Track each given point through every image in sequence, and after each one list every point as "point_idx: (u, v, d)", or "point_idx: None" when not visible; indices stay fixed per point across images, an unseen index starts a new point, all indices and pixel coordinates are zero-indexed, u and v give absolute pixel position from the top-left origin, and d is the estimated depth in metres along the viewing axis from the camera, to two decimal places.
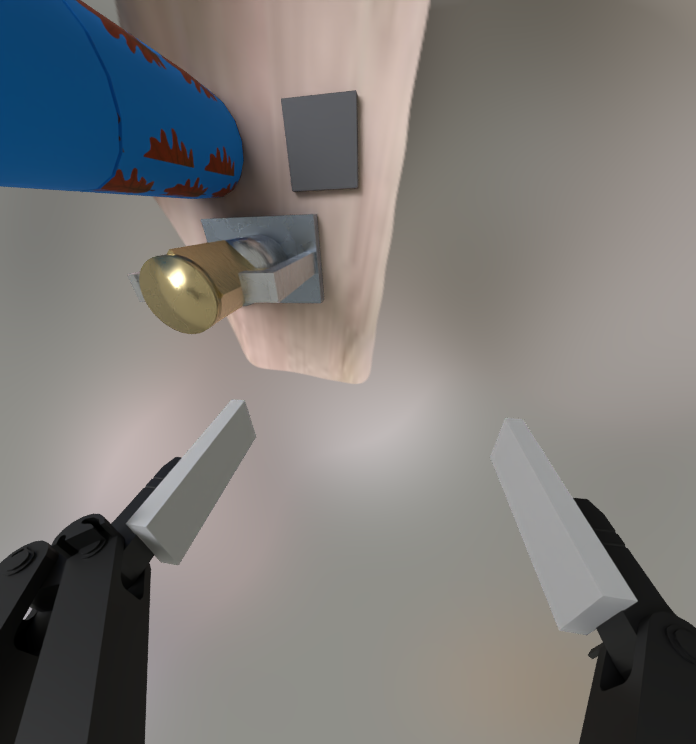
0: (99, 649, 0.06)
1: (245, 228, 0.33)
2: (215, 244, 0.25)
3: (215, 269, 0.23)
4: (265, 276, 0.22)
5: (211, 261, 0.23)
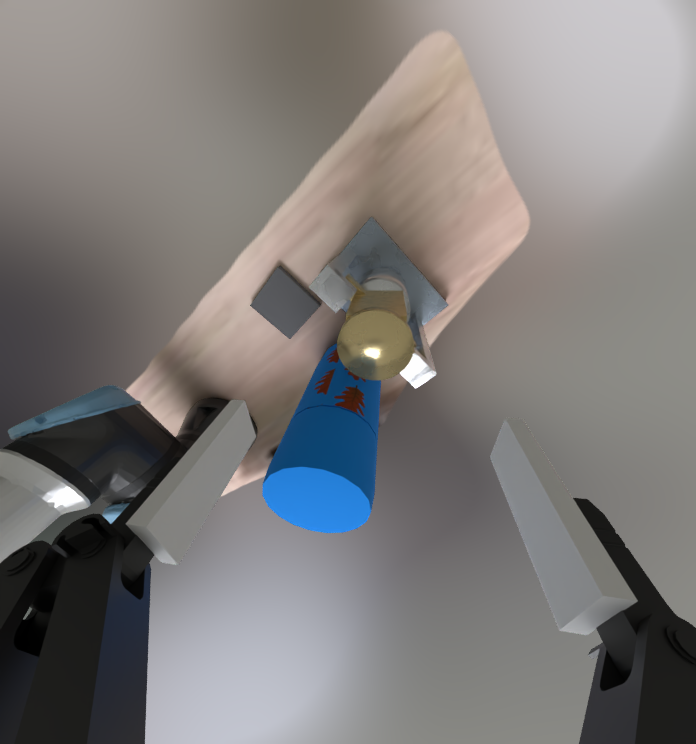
0: (99, 649, 0.06)
1: None
2: None
3: None
4: (317, 291, 0.23)
5: None
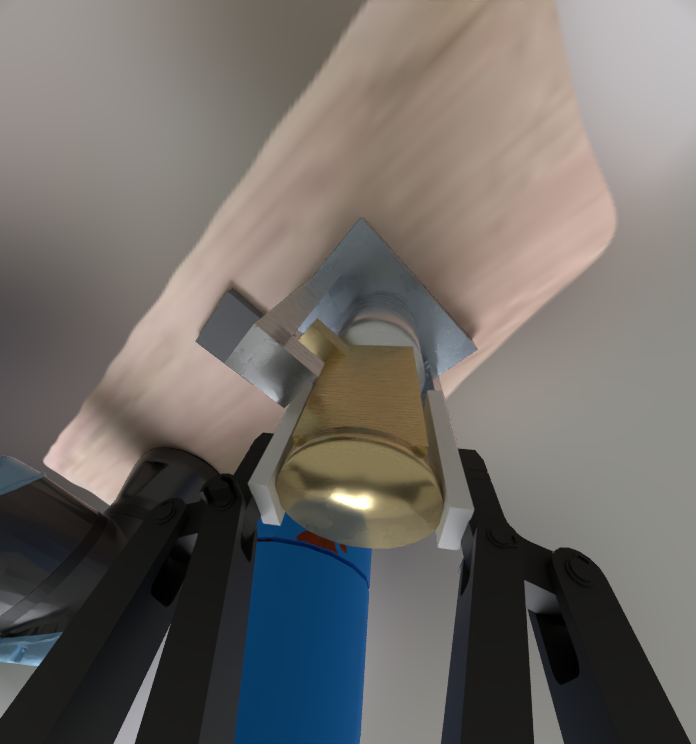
0: (222, 604, 0.07)
1: None
2: None
3: None
4: (242, 370, 0.11)
5: None
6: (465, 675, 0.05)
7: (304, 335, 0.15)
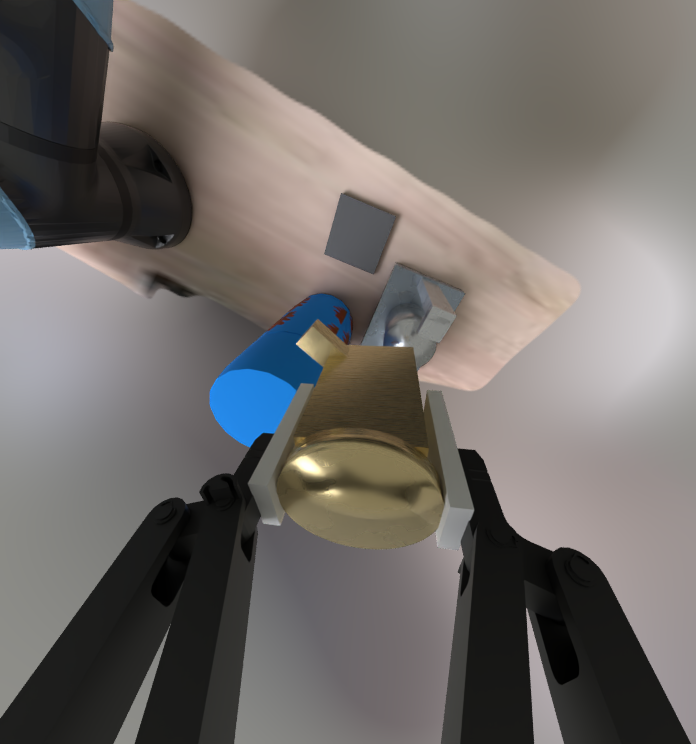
0: (222, 605, 0.07)
1: (378, 324, 0.42)
2: None
3: None
4: (431, 314, 0.26)
5: None
6: (465, 675, 0.05)
7: (304, 336, 0.15)
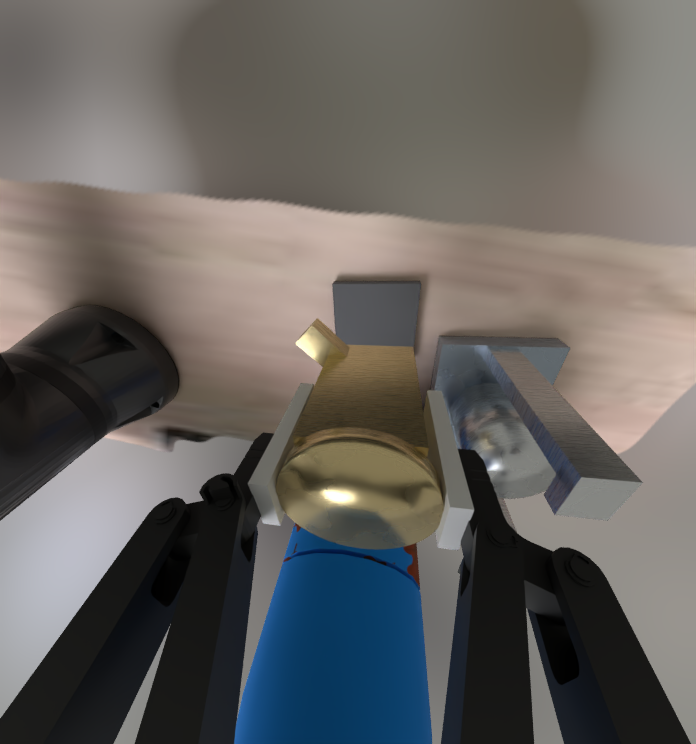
0: (222, 605, 0.07)
1: None
2: None
3: None
4: (580, 487, 0.13)
5: None
6: (465, 675, 0.05)
7: (304, 335, 0.15)
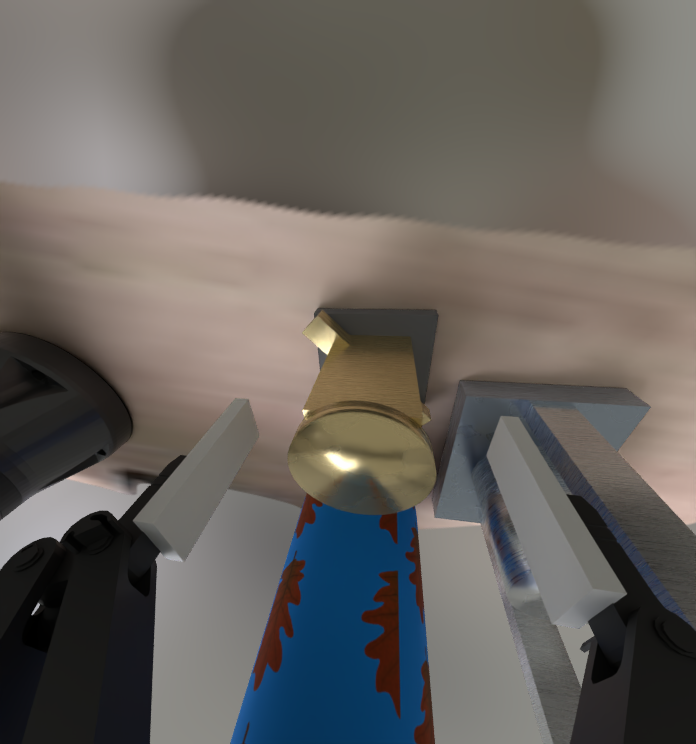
0: (106, 645, 0.06)
1: (459, 481, 0.22)
2: None
3: None
4: None
5: None
6: None
7: (310, 325, 0.16)
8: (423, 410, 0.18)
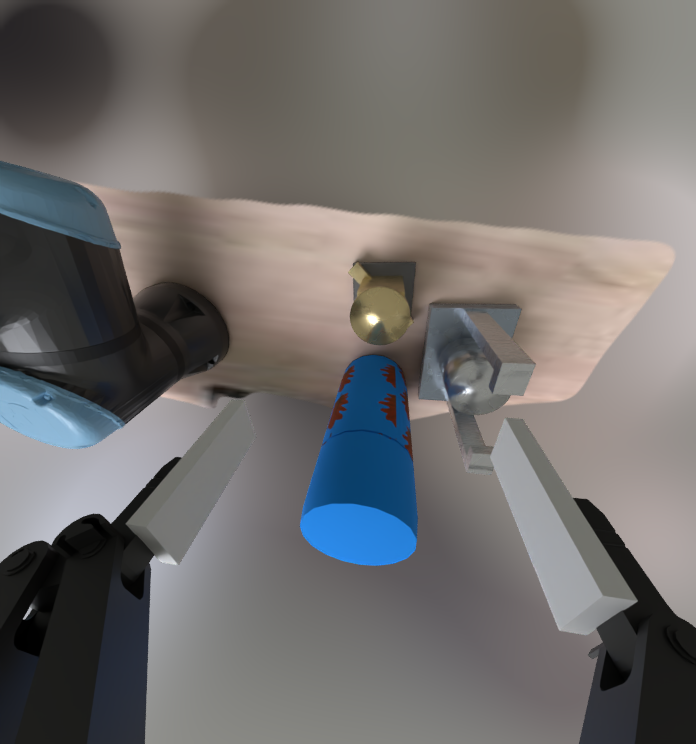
0: (99, 649, 0.06)
1: (431, 368, 0.39)
2: None
3: None
4: (503, 371, 0.22)
5: None
6: None
7: (352, 268, 0.32)
8: (409, 317, 0.35)
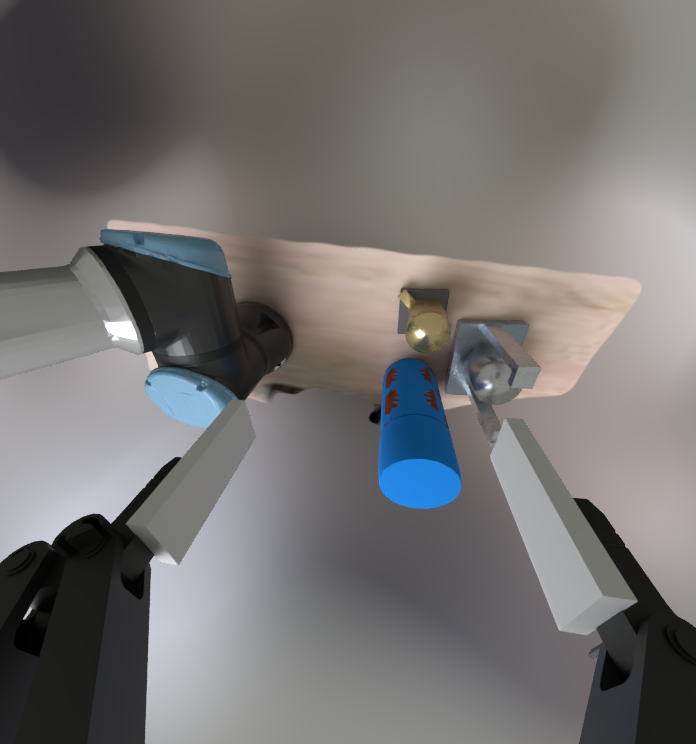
0: (99, 649, 0.06)
1: (457, 369, 0.49)
2: None
3: None
4: (519, 371, 0.33)
5: None
6: None
7: (402, 294, 0.43)
8: None
